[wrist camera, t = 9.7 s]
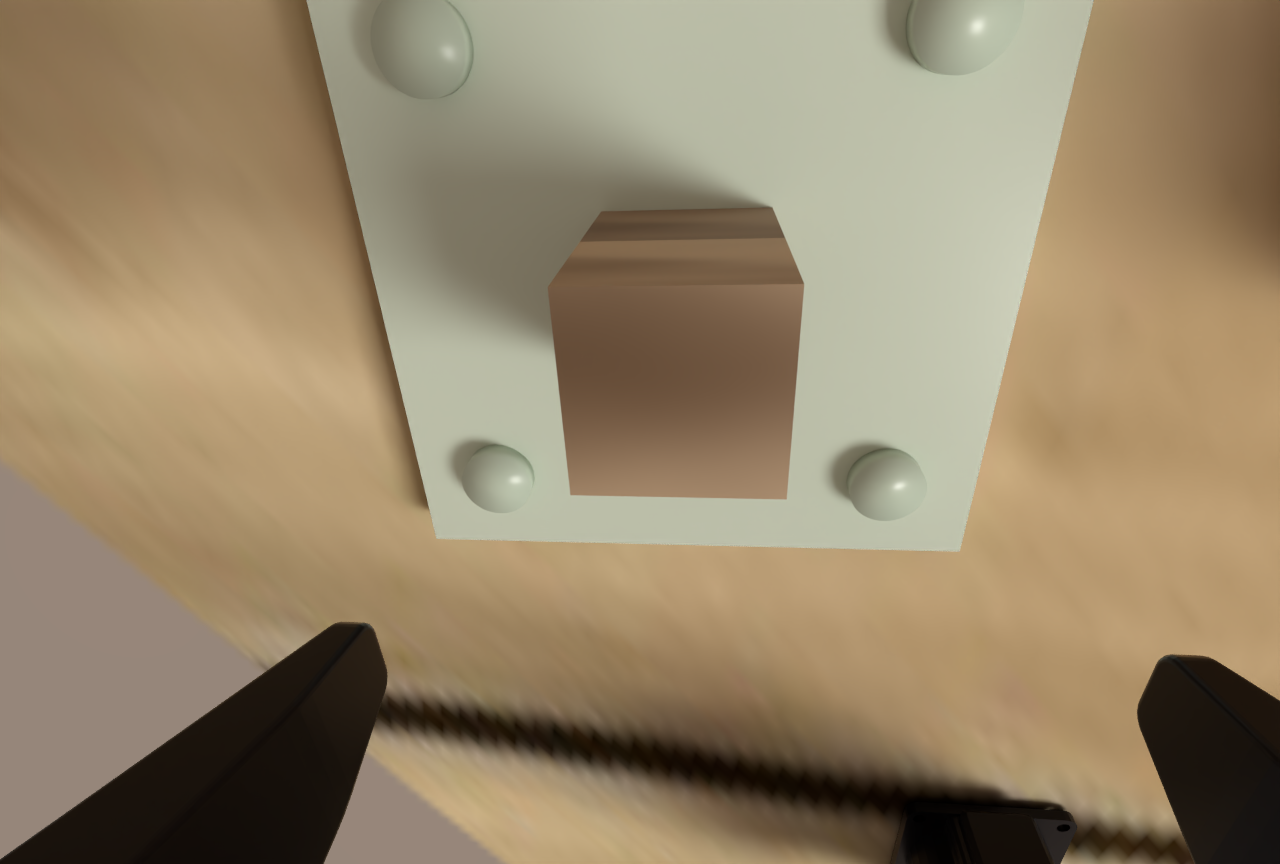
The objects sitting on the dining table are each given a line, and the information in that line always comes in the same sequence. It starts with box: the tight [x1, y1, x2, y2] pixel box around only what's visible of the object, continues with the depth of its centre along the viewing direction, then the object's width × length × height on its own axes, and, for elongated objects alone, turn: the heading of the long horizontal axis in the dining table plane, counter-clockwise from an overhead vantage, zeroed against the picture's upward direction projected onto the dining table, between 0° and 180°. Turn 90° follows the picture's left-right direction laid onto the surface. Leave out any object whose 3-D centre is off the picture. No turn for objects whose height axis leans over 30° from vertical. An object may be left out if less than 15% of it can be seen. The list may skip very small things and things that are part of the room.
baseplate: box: [306, 0, 1094, 552], centre depth 17 cm, size 16×16×2 cm
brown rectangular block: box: [548, 207, 804, 499], centre depth 14 cm, size 4×4×6 cm
